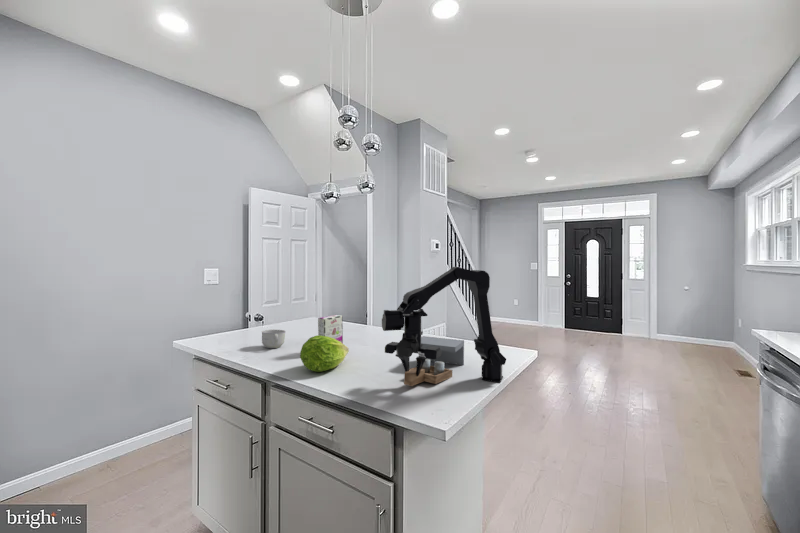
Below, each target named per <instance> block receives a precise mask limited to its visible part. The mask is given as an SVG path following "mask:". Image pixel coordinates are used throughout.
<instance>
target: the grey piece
mask: <svg viewBox="0 0 800 533" xmlns="http://www.w3.org/2000/svg"><path fill="white" fill-rule="evenodd" d="M421 343H422V347H421V348H425V349H426V348H428V347H430V346H433V347H440V349H441V356H440V357H438V358H437V359H430V362H434V363H435V362H436V361H441V362H444V363H445V364H451V365H459V366H464V365H465V340H464V339H453V338H445V337H444V338H443V337H434V336H425V335H422V336H421ZM427 359H428V358H427Z"/></svg>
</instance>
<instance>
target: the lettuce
mask: <svg viewBox="0 0 800 533" xmlns="http://www.w3.org/2000/svg"><path fill="white" fill-rule="evenodd" d="M349 349H350V348H349V347H348V346H347V345H345V344H344V343H343V344H342V343H341V342H340V341H338V340H336V339H334V338H331V337H327V336H321V335H314V336H312V337H309V338H308V339H307V340H306V341H305V342H304V343H303V344H302V346H301V349H300V354H299V358H300V360H301V362H302V364H303V365H304V368H306V369H307V370H309V371H311V372H316V373H321V372H326V371H329V370H332V369H335V368H336V367H337V366H339V365H340V364H341V363H342V362H343V361H344V360H345V358H346V356H347V355H348V354H349V353H350V352H349V351H350V350H349Z"/></svg>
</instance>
